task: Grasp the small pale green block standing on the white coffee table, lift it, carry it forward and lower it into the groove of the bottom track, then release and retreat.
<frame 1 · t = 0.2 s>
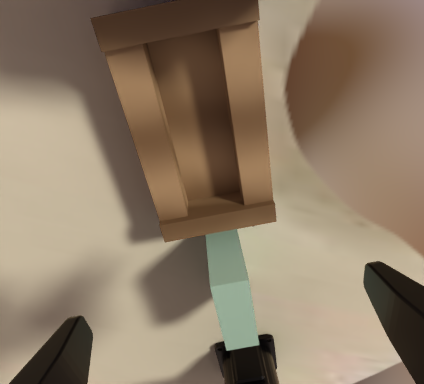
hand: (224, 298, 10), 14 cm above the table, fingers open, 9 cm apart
pale green block: (225, 250, 27), on the table
track: (199, 121, 21), on the table
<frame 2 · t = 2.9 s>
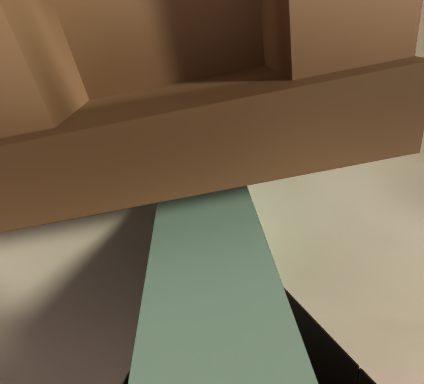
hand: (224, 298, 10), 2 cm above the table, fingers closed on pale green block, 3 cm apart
pale green block: (219, 264, 11), on the table, touching gripper
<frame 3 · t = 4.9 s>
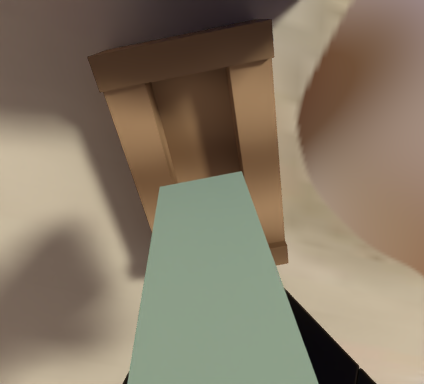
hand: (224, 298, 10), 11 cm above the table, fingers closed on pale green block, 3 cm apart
pale green block: (219, 264, 11), point 10 cm above the table, touching gripper
track: (205, 156, 19), on the table
when the fingers open (4 cm above the table, at t = 6.8 s): pale green block drops 1 cm, resting on track.
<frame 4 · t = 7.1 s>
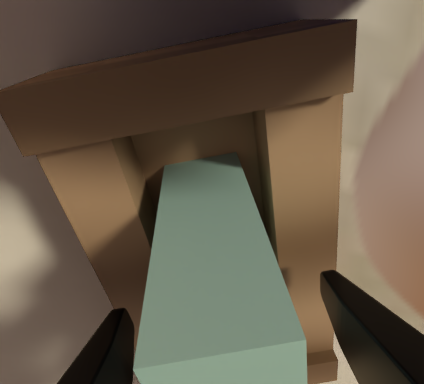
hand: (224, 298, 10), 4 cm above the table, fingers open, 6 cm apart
pale green block: (216, 237, 12), point 1 cm above the table, touching track
track: (214, 223, 13), on the table
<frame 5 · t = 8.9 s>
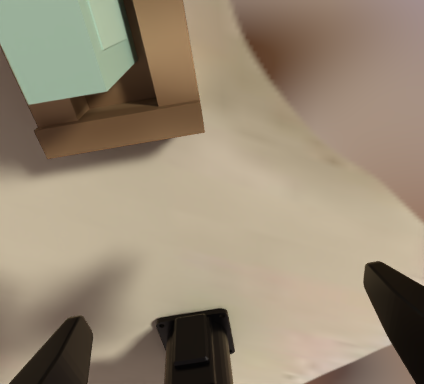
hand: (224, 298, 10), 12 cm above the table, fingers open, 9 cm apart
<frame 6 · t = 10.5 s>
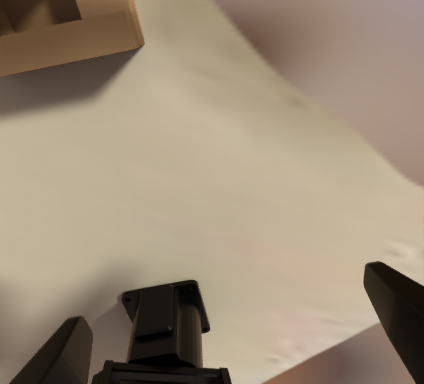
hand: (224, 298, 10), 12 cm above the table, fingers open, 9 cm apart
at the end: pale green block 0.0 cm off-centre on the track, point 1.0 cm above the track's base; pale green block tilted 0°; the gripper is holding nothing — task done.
